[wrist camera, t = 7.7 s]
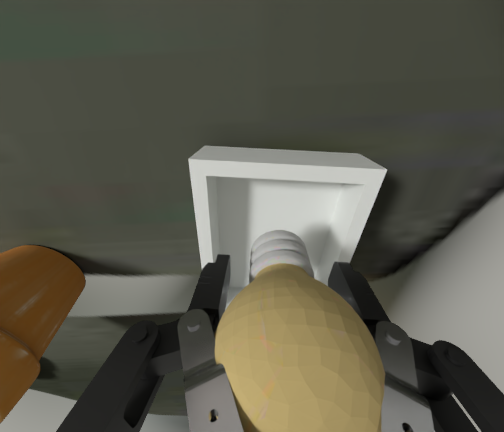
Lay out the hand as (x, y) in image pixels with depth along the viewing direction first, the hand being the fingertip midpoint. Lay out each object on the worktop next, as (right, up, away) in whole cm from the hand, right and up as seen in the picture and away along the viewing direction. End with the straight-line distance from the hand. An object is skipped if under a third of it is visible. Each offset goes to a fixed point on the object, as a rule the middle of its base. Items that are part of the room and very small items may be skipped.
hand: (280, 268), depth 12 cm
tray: (0, +2, +9) cm, 9 cm away
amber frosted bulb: (0, +1, +2) cm, 2 cm away
